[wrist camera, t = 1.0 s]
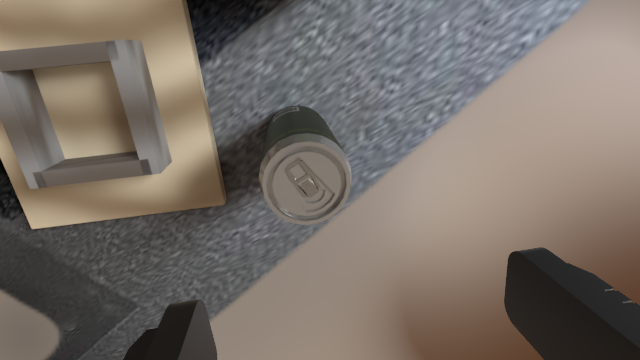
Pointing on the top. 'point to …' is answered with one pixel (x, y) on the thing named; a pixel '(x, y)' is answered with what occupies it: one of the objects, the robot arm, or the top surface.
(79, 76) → the collar board
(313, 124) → the beer can
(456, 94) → the top surface
